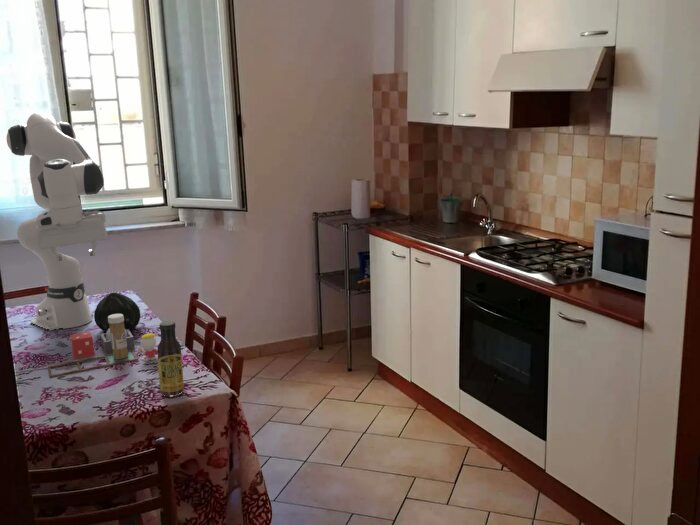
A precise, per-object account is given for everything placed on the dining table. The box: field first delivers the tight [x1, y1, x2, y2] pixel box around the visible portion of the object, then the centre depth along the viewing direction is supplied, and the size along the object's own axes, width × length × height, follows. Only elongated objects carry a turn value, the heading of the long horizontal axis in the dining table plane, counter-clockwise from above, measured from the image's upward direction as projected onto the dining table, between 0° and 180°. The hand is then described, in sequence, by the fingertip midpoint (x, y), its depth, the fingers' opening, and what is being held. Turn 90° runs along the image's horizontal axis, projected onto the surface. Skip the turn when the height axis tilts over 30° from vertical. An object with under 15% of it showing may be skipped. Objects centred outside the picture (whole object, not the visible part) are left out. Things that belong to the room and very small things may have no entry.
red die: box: [69, 331, 96, 359], centre depth 221 cm, size 6×6×6 cm
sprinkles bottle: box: [108, 314, 129, 359], centre depth 214 cm, size 5×5×14 cm
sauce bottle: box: [156, 320, 185, 396], centre depth 186 cm, size 7×6×20 cm
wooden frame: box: [47, 349, 139, 379], centre depth 212 cm, size 25×9×1 cm, turn 117°
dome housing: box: [100, 329, 135, 355], centre depth 225 cm, size 9×9×4 cm
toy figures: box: [136, 332, 158, 362], centre depth 214 cm, size 12×4×8 cm, turn 112°
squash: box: [93, 292, 141, 333], centre depth 240 cm, size 14×15×15 cm
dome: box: [106, 328, 127, 341], centre depth 225 cm, size 6×6×6 cm
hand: (76, 257), depth 216 cm, fingers open, 8 cm apart
